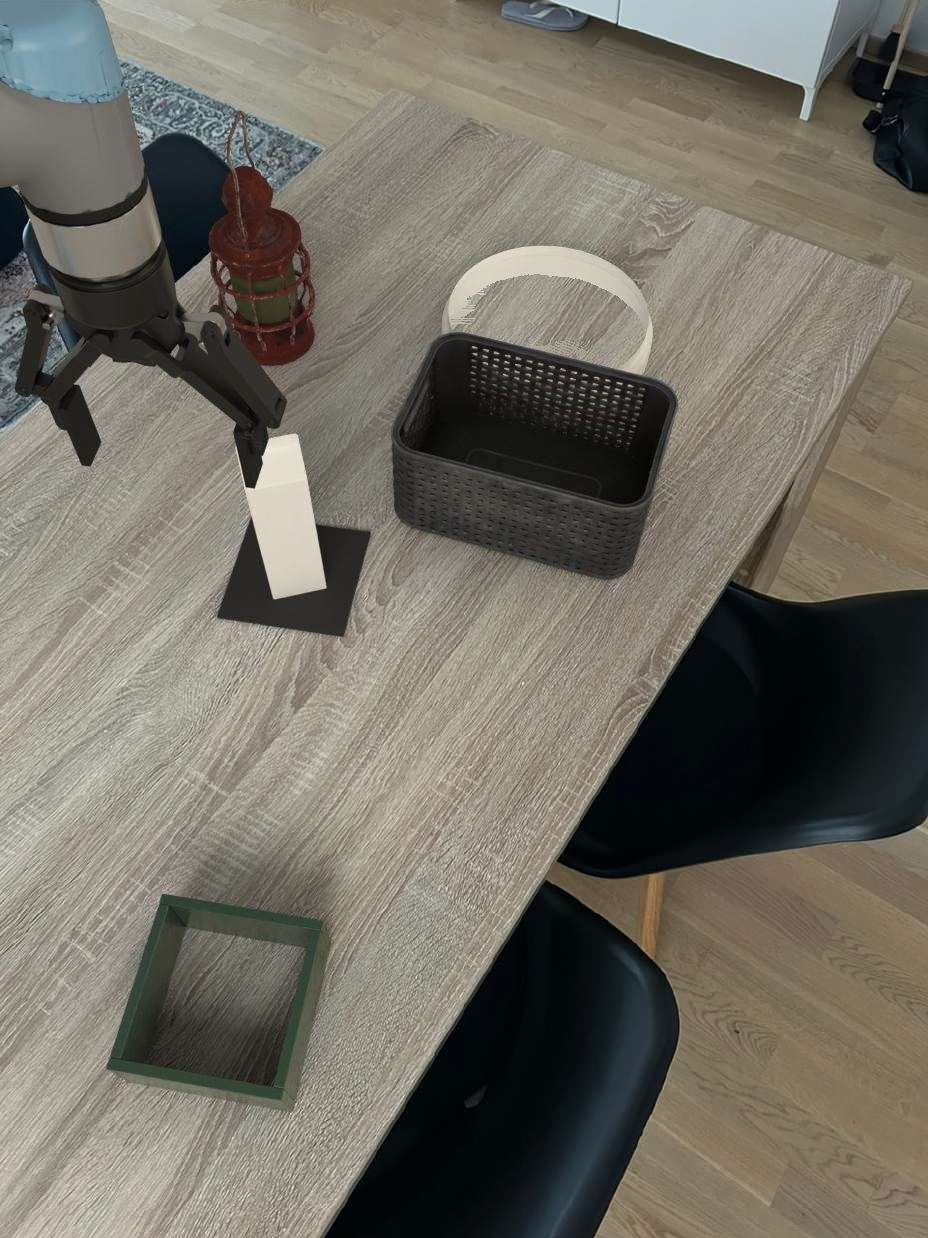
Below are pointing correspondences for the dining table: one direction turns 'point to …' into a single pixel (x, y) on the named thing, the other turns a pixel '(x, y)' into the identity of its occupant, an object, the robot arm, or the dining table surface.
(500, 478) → the storage bin
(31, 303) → the robot arm
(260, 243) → the lantern
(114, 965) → the dining table surface
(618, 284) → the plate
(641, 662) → the dining table surface
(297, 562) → the milk
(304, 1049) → the holder
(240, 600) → the mat
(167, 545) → the dining table surface
